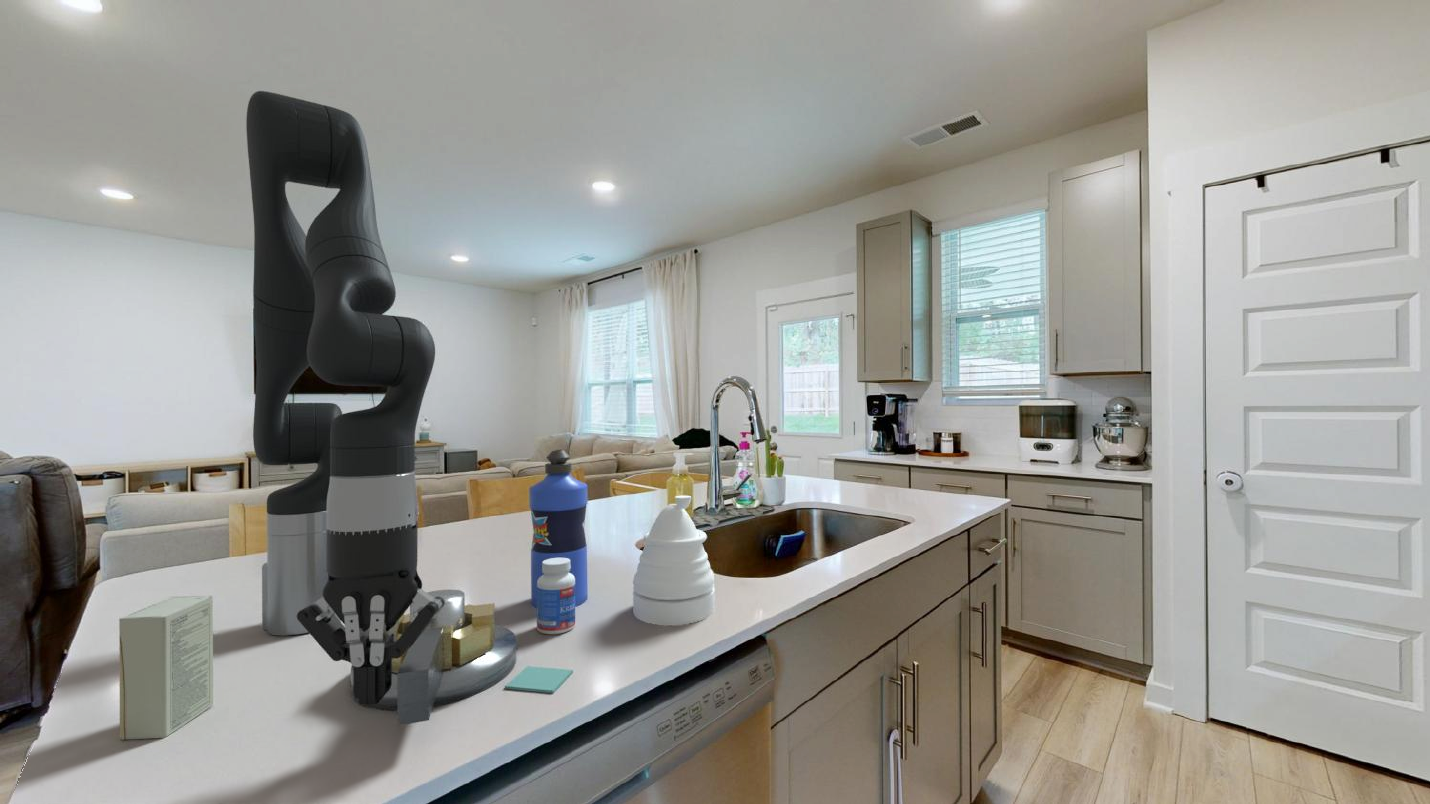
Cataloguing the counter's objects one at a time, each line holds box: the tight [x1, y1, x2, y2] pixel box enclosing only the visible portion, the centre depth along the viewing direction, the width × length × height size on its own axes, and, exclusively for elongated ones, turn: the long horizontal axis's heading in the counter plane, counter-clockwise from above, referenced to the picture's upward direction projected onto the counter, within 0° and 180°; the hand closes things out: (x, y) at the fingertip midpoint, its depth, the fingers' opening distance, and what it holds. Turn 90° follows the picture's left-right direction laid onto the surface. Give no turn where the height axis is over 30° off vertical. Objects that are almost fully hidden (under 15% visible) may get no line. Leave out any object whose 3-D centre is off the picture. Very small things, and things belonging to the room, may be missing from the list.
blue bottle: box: [528, 449, 589, 609], centre depth 94 cm, size 9×9×25 cm
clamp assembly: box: [392, 602, 496, 727], centre depth 64 cm, size 24×13×5 cm, turn 19°
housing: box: [350, 589, 517, 712], centre depth 69 cm, size 18×18×9 cm
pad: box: [504, 665, 574, 694], centre depth 67 cm, size 6×5×1 cm
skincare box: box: [118, 595, 214, 741], centre depth 58 cm, size 6×4×12 cm
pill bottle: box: [536, 558, 576, 635], centre depth 82 cm, size 6×5×10 cm
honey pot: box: [632, 494, 716, 626], centre depth 89 cm, size 13×13×18 cm
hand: (373, 700), depth 54 cm, fingers closed
